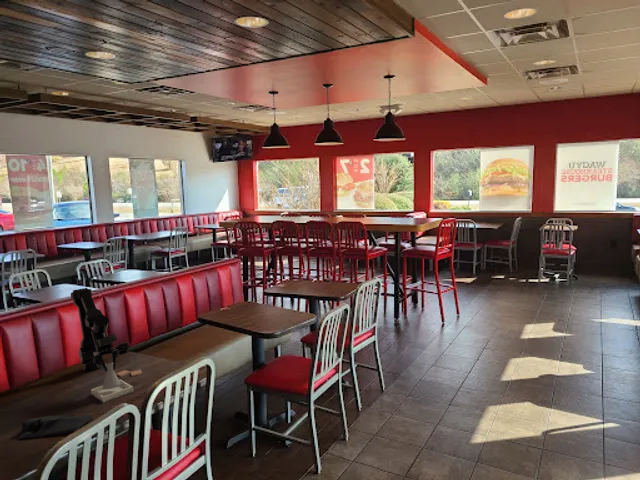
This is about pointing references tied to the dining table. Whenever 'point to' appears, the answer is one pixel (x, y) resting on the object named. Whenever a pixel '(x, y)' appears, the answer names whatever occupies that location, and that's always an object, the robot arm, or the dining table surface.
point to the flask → (110, 377)
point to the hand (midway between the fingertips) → (110, 370)
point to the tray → (112, 392)
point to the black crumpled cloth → (52, 425)
